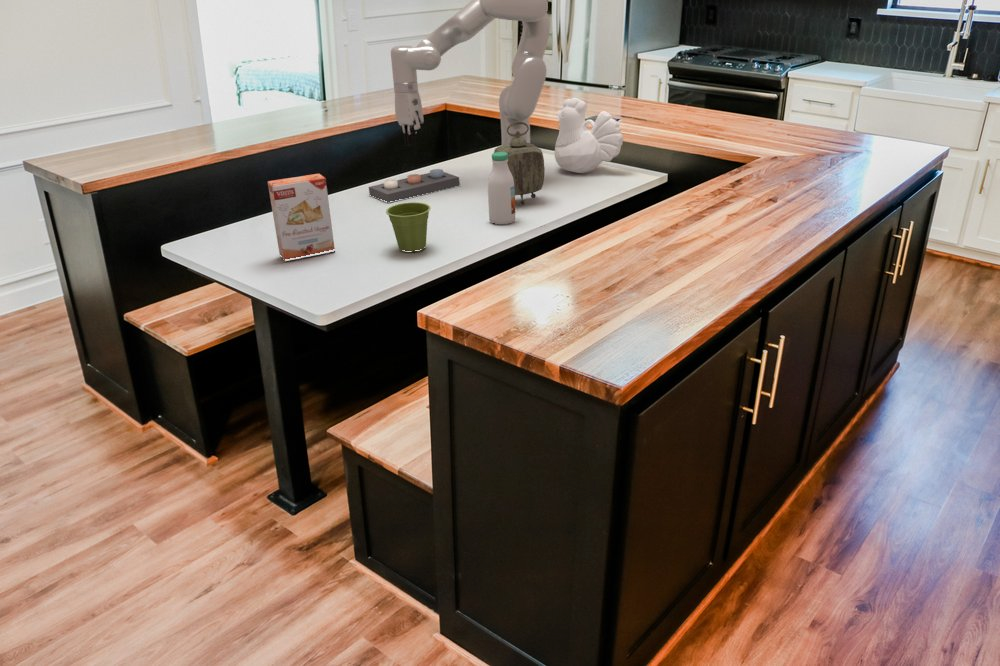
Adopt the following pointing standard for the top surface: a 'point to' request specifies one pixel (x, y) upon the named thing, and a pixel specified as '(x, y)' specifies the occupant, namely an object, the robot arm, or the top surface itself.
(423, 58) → the robot arm
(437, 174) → the slate blue button
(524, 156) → the tabletop clock
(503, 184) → the milk bottle
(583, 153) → the decorative rooster
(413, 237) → the plant pot
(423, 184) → the button panel
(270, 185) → the cracker box
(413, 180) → the terracotta button
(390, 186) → the cream button
